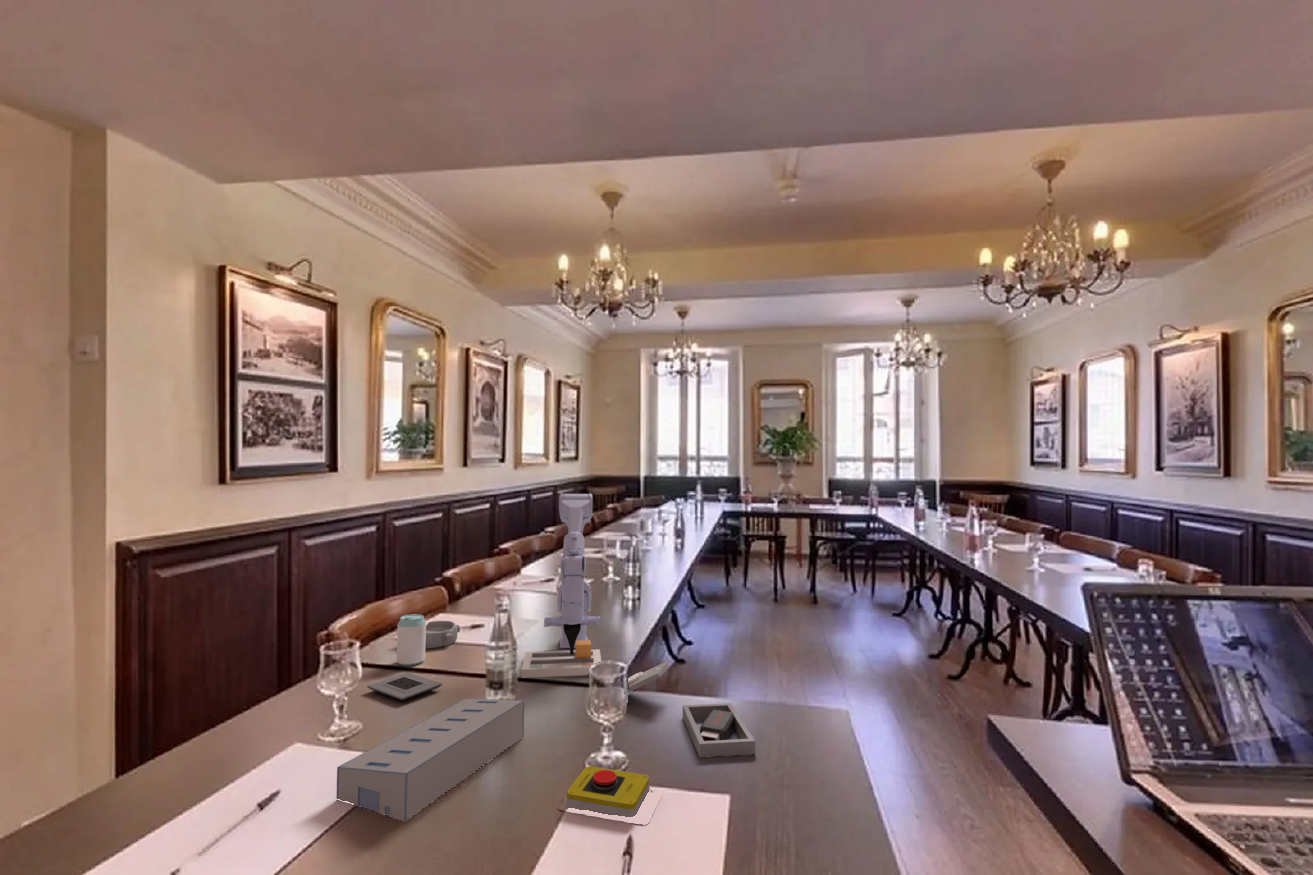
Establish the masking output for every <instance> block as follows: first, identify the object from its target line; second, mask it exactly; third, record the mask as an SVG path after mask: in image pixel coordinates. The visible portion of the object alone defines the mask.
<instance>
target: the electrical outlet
mask: <svg viewBox="0 0 1313 875" xmlns="http://www.w3.org/2000/svg"><path fill="white" fill-rule="evenodd" d="M442 685H443V682H439V681H436V680H434V679H431V678H427V677H424V676H420V675H417V674H414V673H411V672H409V671H407V672H404V673H401V674H398V675H395V676H392V677H389V678H387V679H383V680H380V681H377V682H374V683H372V684H368V685H366V687H367V689H370V690H371V691H374V692H377V693H380V694H382V695H385V696H388V697H390V698H392V699H397V700H398V701H401V702H403V701H407V700H409V699H412V698H415V697H417V696H420V695H423V694H425V693H428V692H431V691H434V690H436V689H439V688H440V687H441V686H442Z"/></svg>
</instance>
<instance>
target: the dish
mask: <svg viewBox="0 0 1313 875" xmlns="http://www.w3.org/2000/svg"><path fill="white" fill-rule="evenodd" d="M460 628H461V627H460V625H459V624H456V622H454V621H451V620H433V621H429V622H427V623H426V643H425V649H435V648H436V649H437V648H441V647H442V646H443V647H446V646H450V645H451V644H454V641H455V642H456V641H457V639H458V633H460V632H461V629H460Z"/></svg>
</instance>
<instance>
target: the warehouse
mask: <svg viewBox="0 0 1313 875" xmlns="http://www.w3.org/2000/svg"><path fill="white" fill-rule="evenodd" d="M524 727H525V700H524V699H523V700H522V699H493V698H491V699H490V698H489V699H488V698H487V699H486V698H463V699H462V700H460V701H458V702H456V703H455V704H453V705H450V706H449V707H447V708H445V709H443V710H441V711H439V712H437V713H436V714H434V715H432V716H430V717H428V718H426V719H424V720H422V721H421V722H419V723H417V724H415V725H414V726H412V727H410V728H407V729H405V730H404V731H402V732H400V733H398V734H396V735H394V736H392V737H391V738H389V739H387V740H385V741H383V742H382V743H379V744H378V745H376V746H375V747H372V748H370V749H368V750H367V751H365V752H362V753H361V754H359V755H357V756H355V757H354V758H351V759H350V760H348V761H345V762H344V763H342V764H340V765H338V766H337V768H336V794H335V795H336V797H335V798H337V799H340V800H342V801H348V802H350V803H353V804H354V805H357V806H361V807H364V808H363V809H365V808H367V809H366V810H368V809H369V810H368V811H371V810H375V811H378V813H383V814H387V815H389V816H392V817H395V818H397V819H400V820H402V821H401V822H403V821H404V823H405V822H406V821H407V819H409V818H410V817H411V816H412V815H414V814H416V813H417V812H418V811H419V810H421V809H423V808H424V807H425V806H427V805H429V804H430V803H431V802H432V801H434V802H436V801H437V800H438V799H439V798H438V797H440V798H441V797H442V796H441V795H443V794H444V793H445V792H447V791H448V790H449V789H451V788H452V787H454V786H455V785H456V784H458V783H459V784H461V783H462V782H463V781H462V780H463V779H465V778H466V779H468V778H469V777H470V776H469V775H470V774H472V773H473V772H474V771H476V770H477V769H479V768H480V767H481V766H482V765H484V764H486V763H487V762H488V761H489V760H491V759H493V758H494V757H495V756H496V755H498V754H500V753H501V752H502V751H504V750H506V749H507V748H508V747H509V746H511V747H513V746H514V745H515V744H517V743H518V742H519V741H521V740H523V738H522V737H525V736H524V735H525V728H524ZM516 742H517V743H516ZM514 743H515V744H514ZM513 744H514V745H513ZM512 745H513V746H512ZM508 749H509V748H508ZM508 749H507V750H508ZM507 750H506V751H507ZM504 752H505V751H504ZM501 754H502V753H501ZM501 754H500V755H501ZM494 759H495V758H494ZM494 759H493V760H494ZM487 764H488V763H487ZM487 764H486V765H487ZM480 769H481V768H480ZM480 769H479V770H480ZM476 772H477V771H476ZM473 774H474V773H473ZM473 774H472V775H473ZM468 776H469V777H468ZM467 777H468V778H467ZM466 779H465V780H466ZM461 781H462V782H461ZM460 782H461V783H460ZM459 784H458V785H459ZM455 787H456V786H455ZM455 787H454V788H455ZM452 789H453V788H452ZM452 789H451V790H452ZM448 792H449V791H448ZM448 792H447V793H448ZM445 794H446V793H445ZM445 794H444V795H445ZM444 795H443V796H444ZM437 798H438V799H437ZM436 799H437V800H436ZM435 800H436V801H435ZM431 804H432V803H431ZM431 804H430V805H431ZM430 805H429V806H430ZM361 807H360V808H361ZM427 807H428V806H427ZM424 809H425V808H424ZM424 809H423V810H424ZM378 813H377V814H378ZM417 814H418V813H417ZM417 814H416V815H417ZM389 816H388V817H389ZM397 819H396V820H397ZM410 819H411V818H410ZM410 819H409V820H410ZM400 820H399V821H400ZM406 823H407V822H406Z"/></svg>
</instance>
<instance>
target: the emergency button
mask: <svg viewBox="0 0 1313 875" xmlns="http://www.w3.org/2000/svg"><path fill="white" fill-rule="evenodd" d="M650 789H651V787H650V776H649V775H648V774H643V773H636V772H629V771H623V770H618V769H617V770H615V769H611V768H610V769H609V768H604V767H596V766H590V765H589V766H586V767H585V768H584V769H583V770H582V771H581V772H580V774H579V775H578V776H577V778H575V780H574V782H572V784H571V785H570V787H569V788H568V790H567V791H566V794H567V796H566V795H565V796H566V797H567V798H566V808H567V809H568V808H575V809H579V810H589V811H593V812H598V813H602V814H608V815H618V816H625V817H633V816H635V815H636V814H637V812H638V810H639V808H640V806H641V804H642V802H643V801H644V799H645V797H646V795H647V793H648V792H649V790H650ZM650 791H651V790H650Z"/></svg>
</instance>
